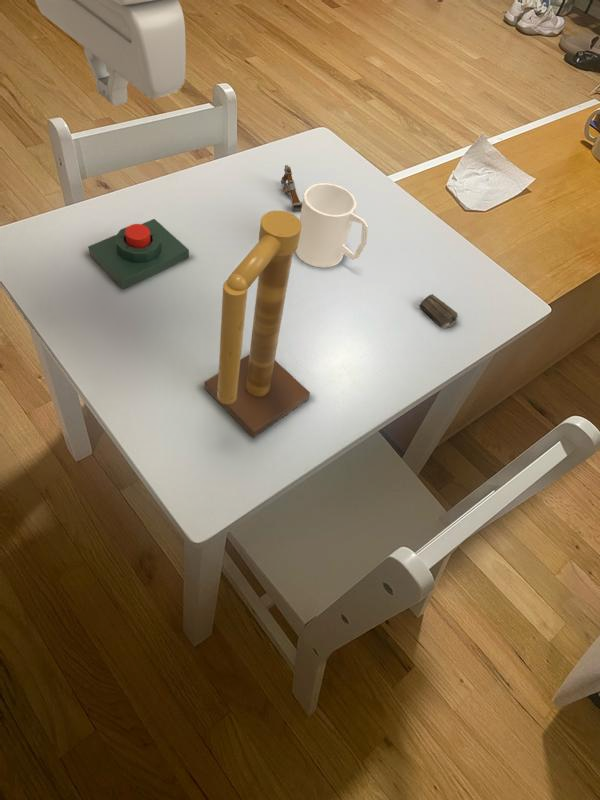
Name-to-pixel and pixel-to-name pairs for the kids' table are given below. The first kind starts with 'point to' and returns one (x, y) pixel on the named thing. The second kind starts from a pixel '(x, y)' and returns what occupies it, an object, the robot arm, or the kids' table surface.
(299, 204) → the wooden post with brackets
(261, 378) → the paper towel holder
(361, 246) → the cup
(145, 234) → the red button
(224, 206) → the kids' table surface
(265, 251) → the bent wooden pipe
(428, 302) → the block
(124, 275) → the button block
